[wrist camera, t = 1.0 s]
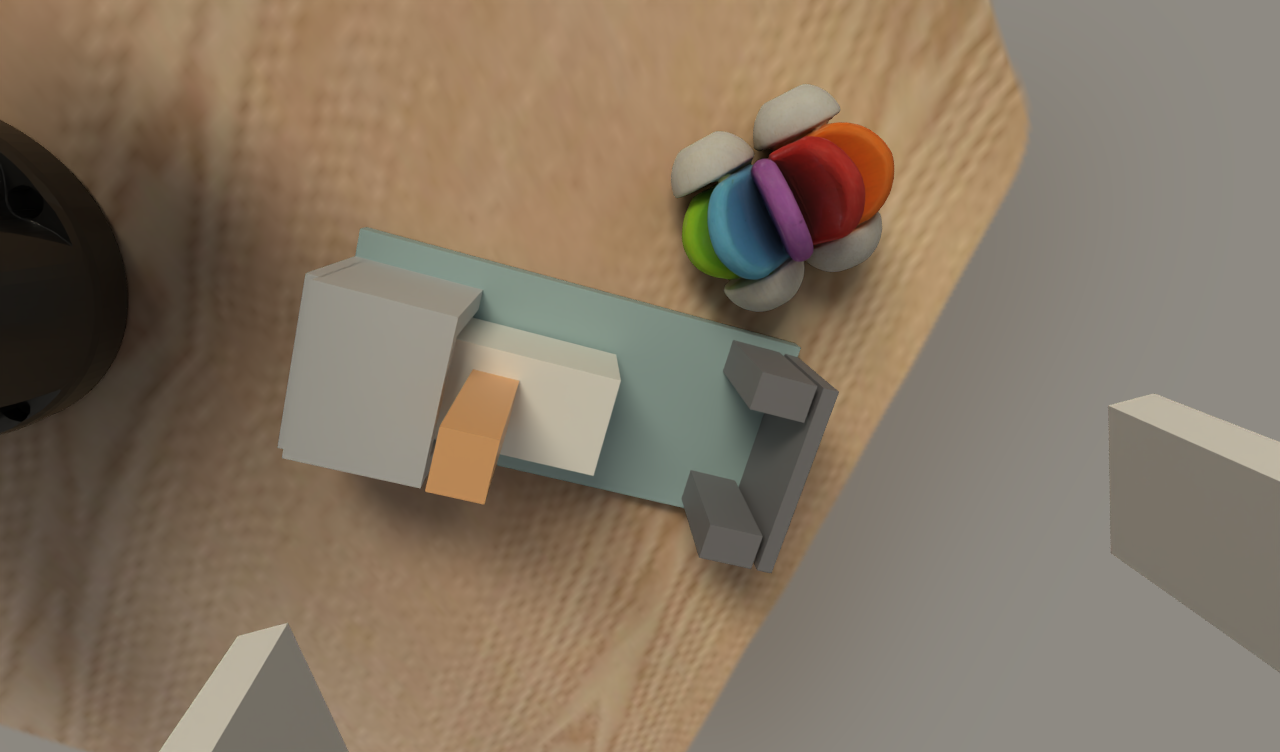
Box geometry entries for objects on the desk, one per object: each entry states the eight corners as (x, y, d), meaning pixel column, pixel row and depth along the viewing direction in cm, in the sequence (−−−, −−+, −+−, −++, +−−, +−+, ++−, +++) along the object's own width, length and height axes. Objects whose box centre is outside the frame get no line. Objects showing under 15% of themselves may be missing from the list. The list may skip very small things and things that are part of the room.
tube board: (331, 419, 35) (264, 484, 28) (366, 227, 33) (302, 241, 25) (735, 512, 39) (772, 592, 31) (795, 343, 36) (849, 386, 29)
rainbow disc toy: (886, 232, 35) (961, 245, 28) (716, 321, 36) (748, 356, 29) (821, 70, 33) (886, 41, 26) (640, 169, 33) (655, 167, 26)
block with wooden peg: (353, 381, 34) (240, 482, 23) (370, 291, 33) (259, 350, 21) (592, 438, 35) (595, 557, 24) (616, 354, 34) (631, 439, 23)
